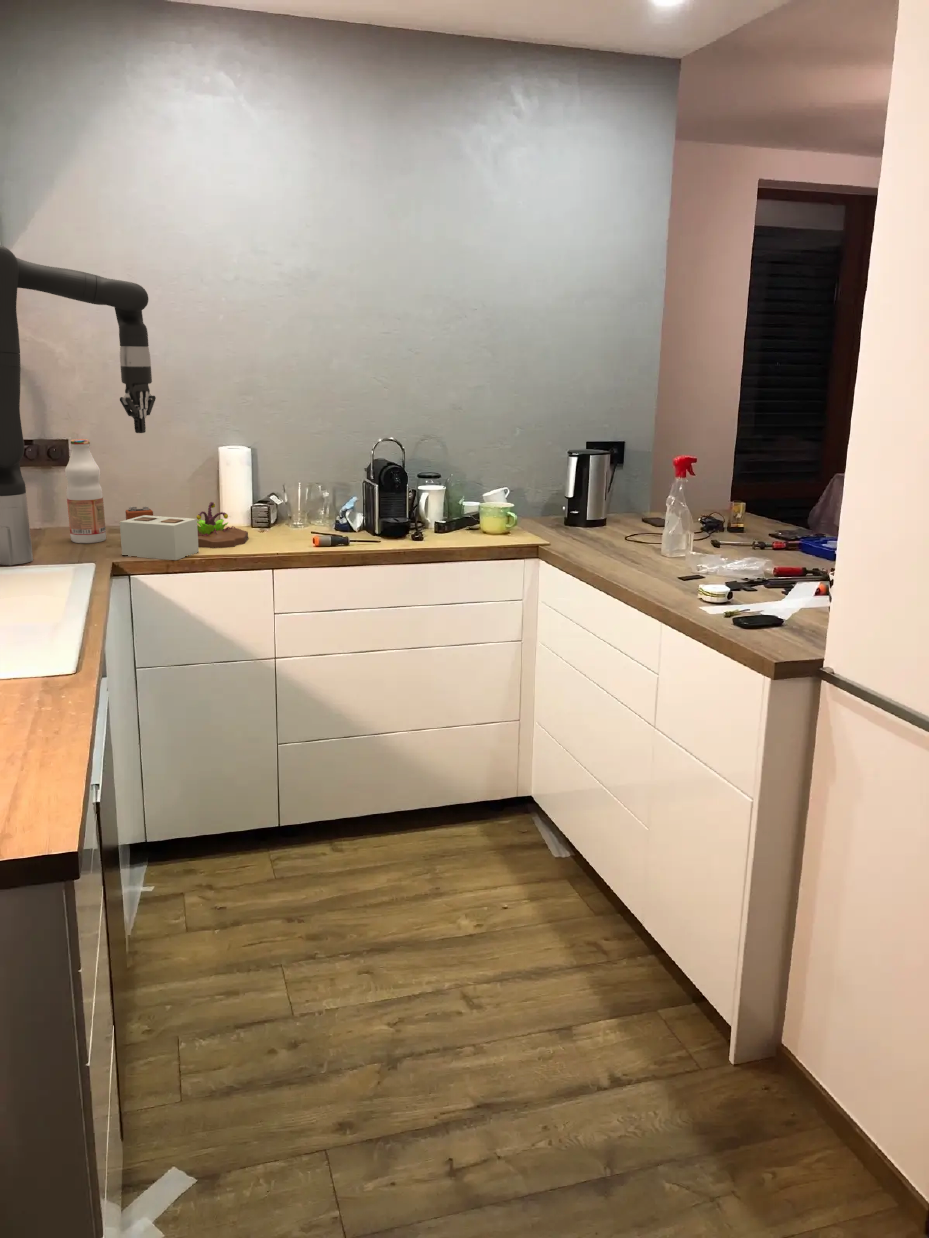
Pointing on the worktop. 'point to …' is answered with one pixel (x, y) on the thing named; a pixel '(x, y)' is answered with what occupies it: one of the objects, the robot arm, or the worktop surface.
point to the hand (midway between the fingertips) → (140, 432)
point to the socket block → (159, 538)
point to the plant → (218, 532)
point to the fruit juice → (84, 495)
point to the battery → (138, 512)
